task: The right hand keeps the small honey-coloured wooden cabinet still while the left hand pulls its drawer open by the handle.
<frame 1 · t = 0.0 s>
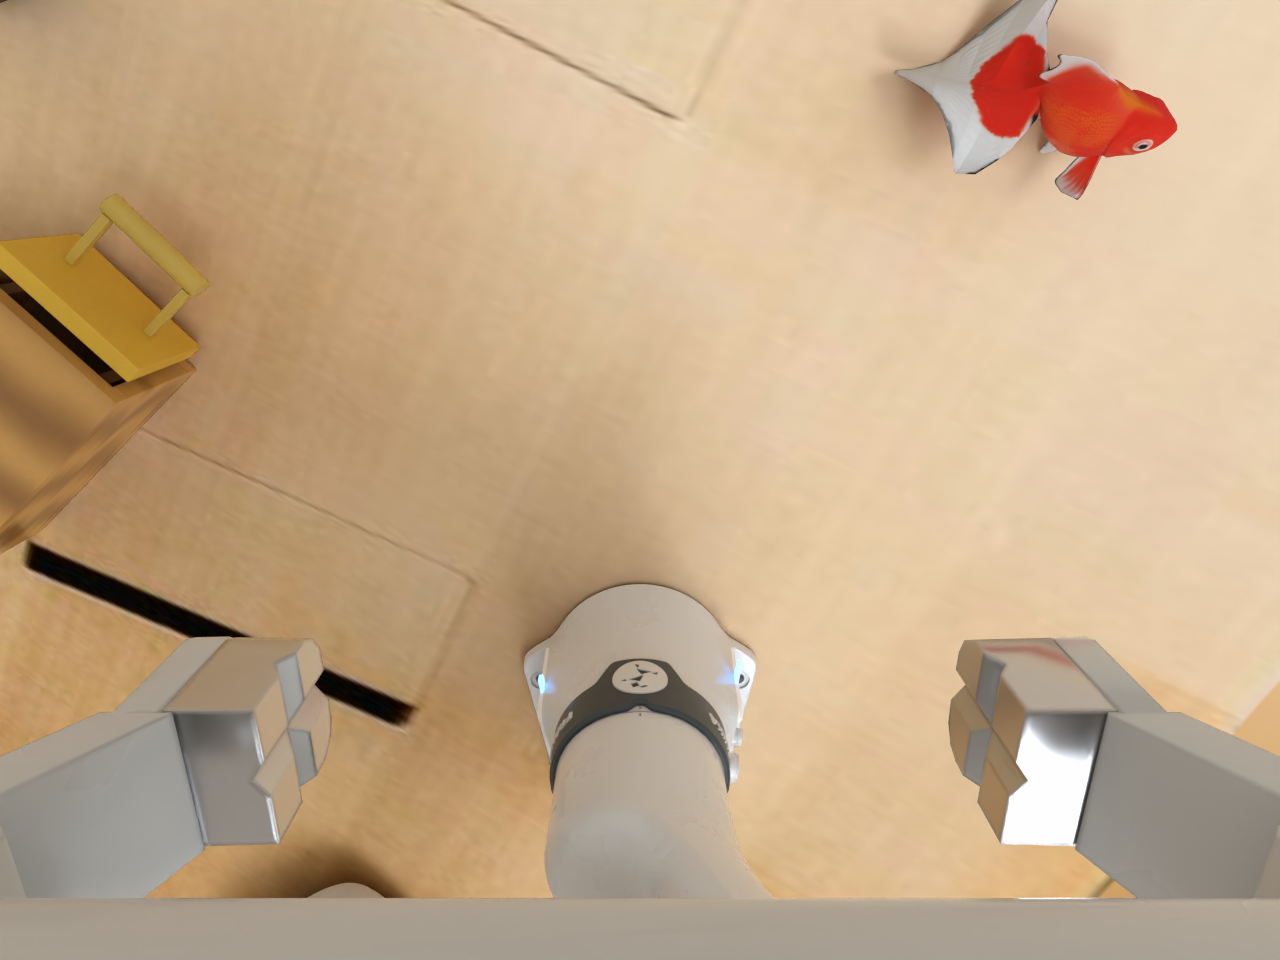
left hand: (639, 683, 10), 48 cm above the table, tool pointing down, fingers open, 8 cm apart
drawer: (52, 360, 53), point 5 cm above the table, slide at 0.9 cm
white rounded slotted device: (379, 956, 77), on the table
fish: (999, 109, 52), on the table
cabinet: (52, 396, 58), on the table
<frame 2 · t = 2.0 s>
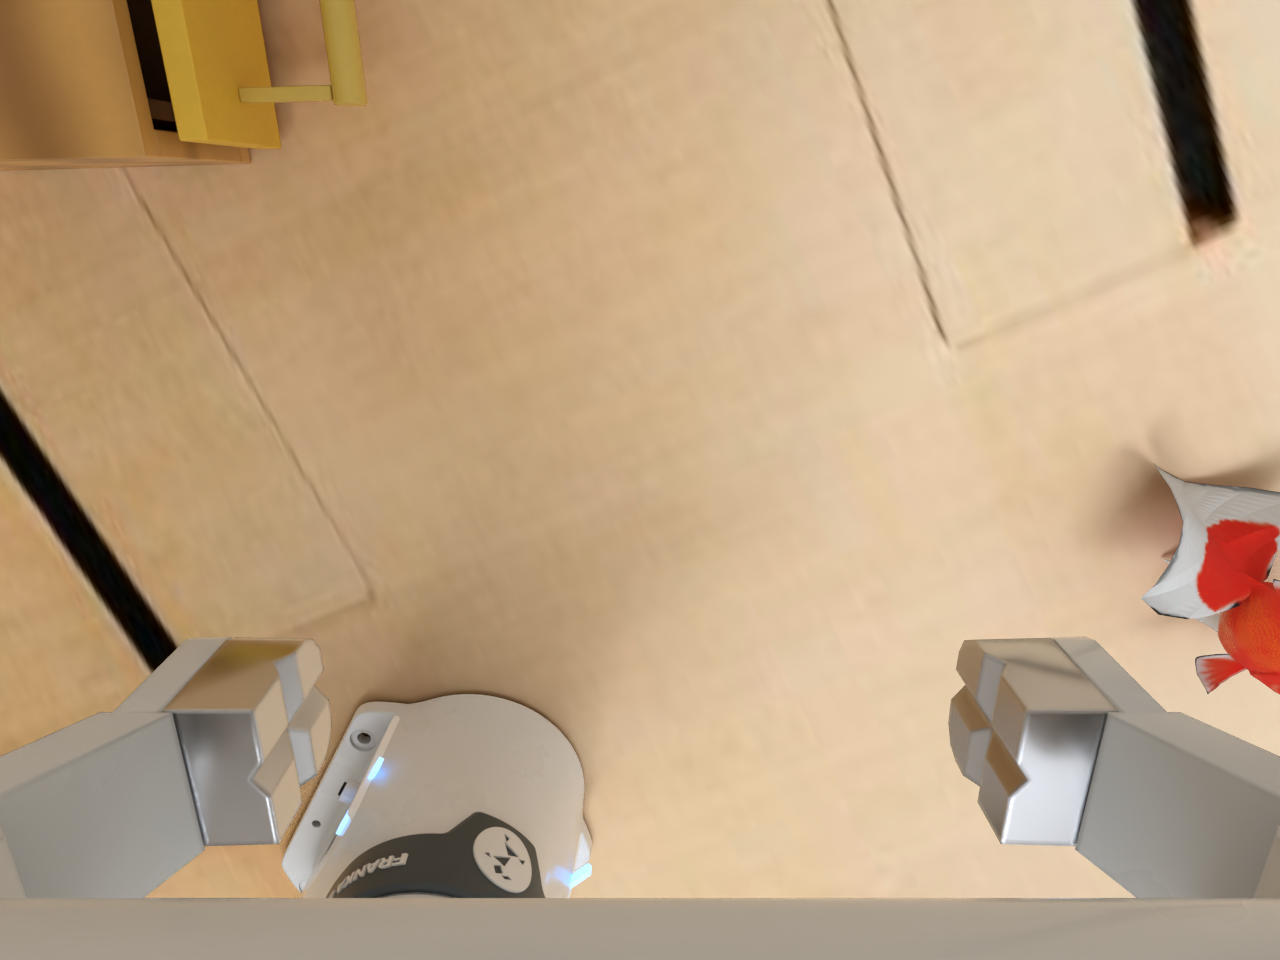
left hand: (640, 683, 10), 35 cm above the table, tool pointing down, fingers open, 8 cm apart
drawer: (87, 22, 35), point 5 cm above the table, slide at 0.9 cm
fish: (1187, 553, 49), on the table
cabinet: (36, 44, 39), on the table
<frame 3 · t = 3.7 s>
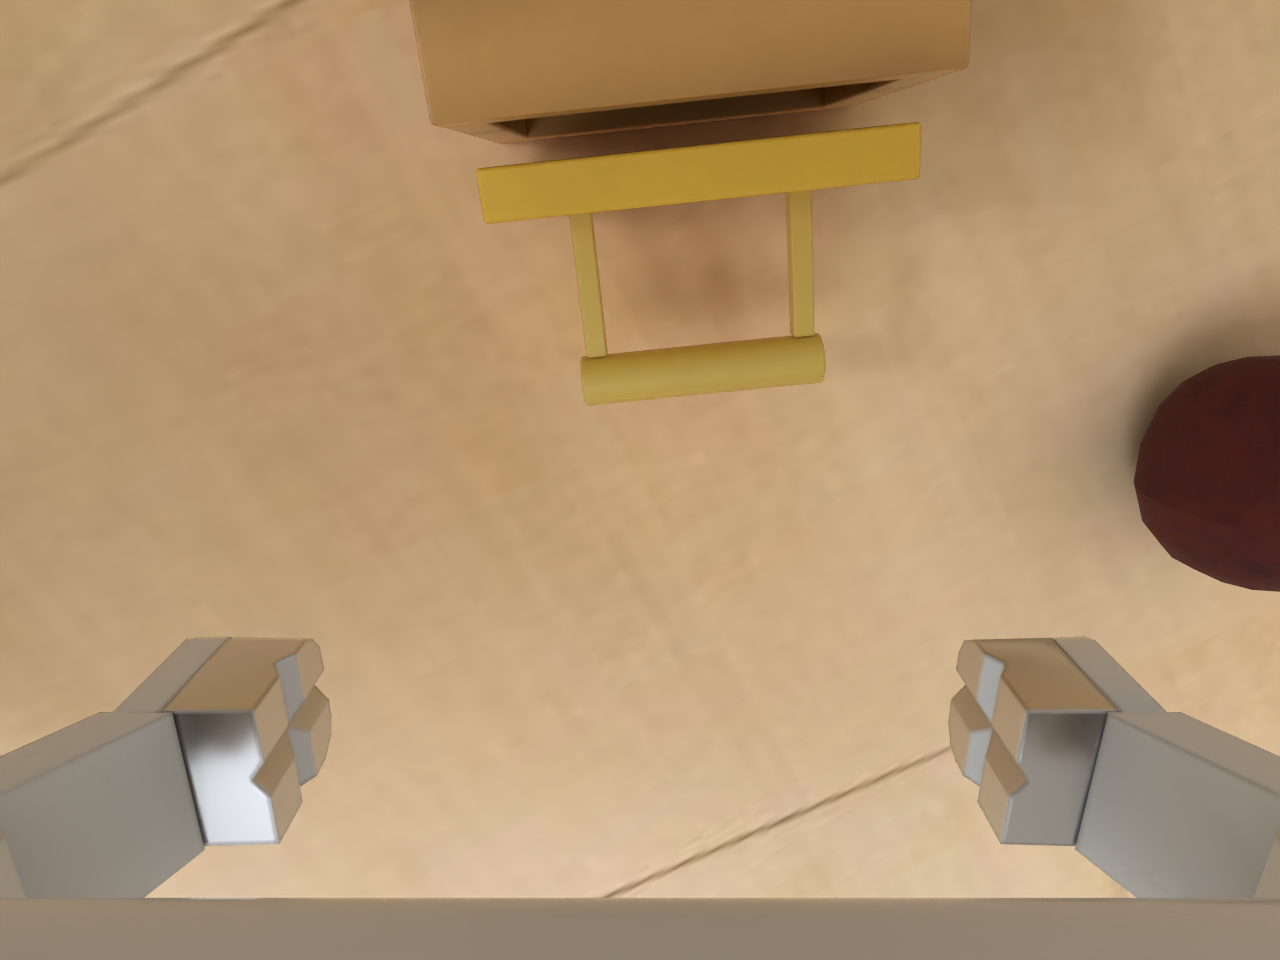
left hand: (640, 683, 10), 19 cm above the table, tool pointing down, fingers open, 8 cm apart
dark red ball: (1192, 437, 30), on the table
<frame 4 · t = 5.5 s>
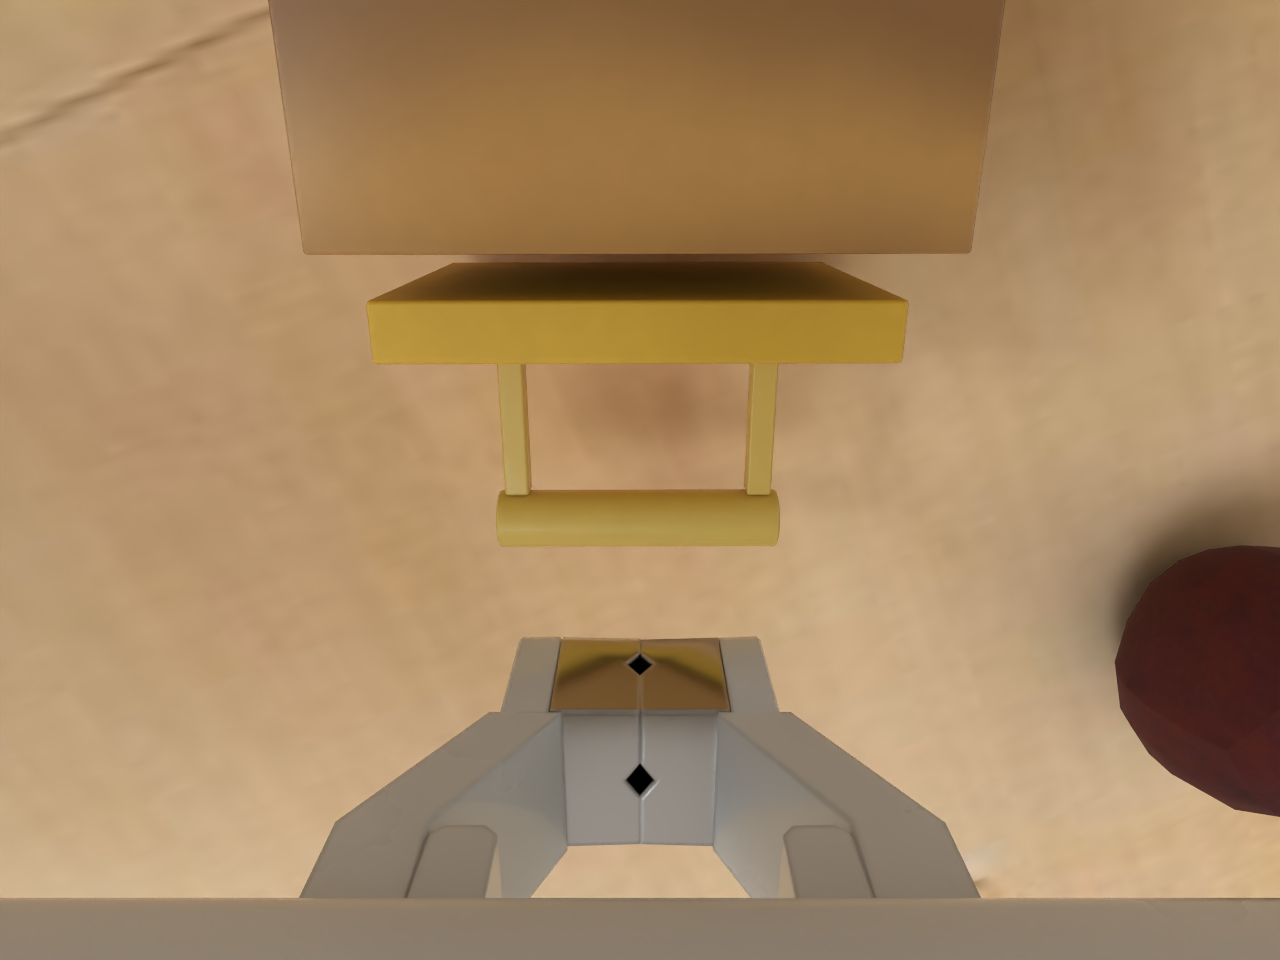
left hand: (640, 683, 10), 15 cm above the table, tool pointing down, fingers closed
drawer: (637, 40, 17), point 5 cm above the table, slide at 0.9 cm
dark red ball: (1183, 612, 27), on the table
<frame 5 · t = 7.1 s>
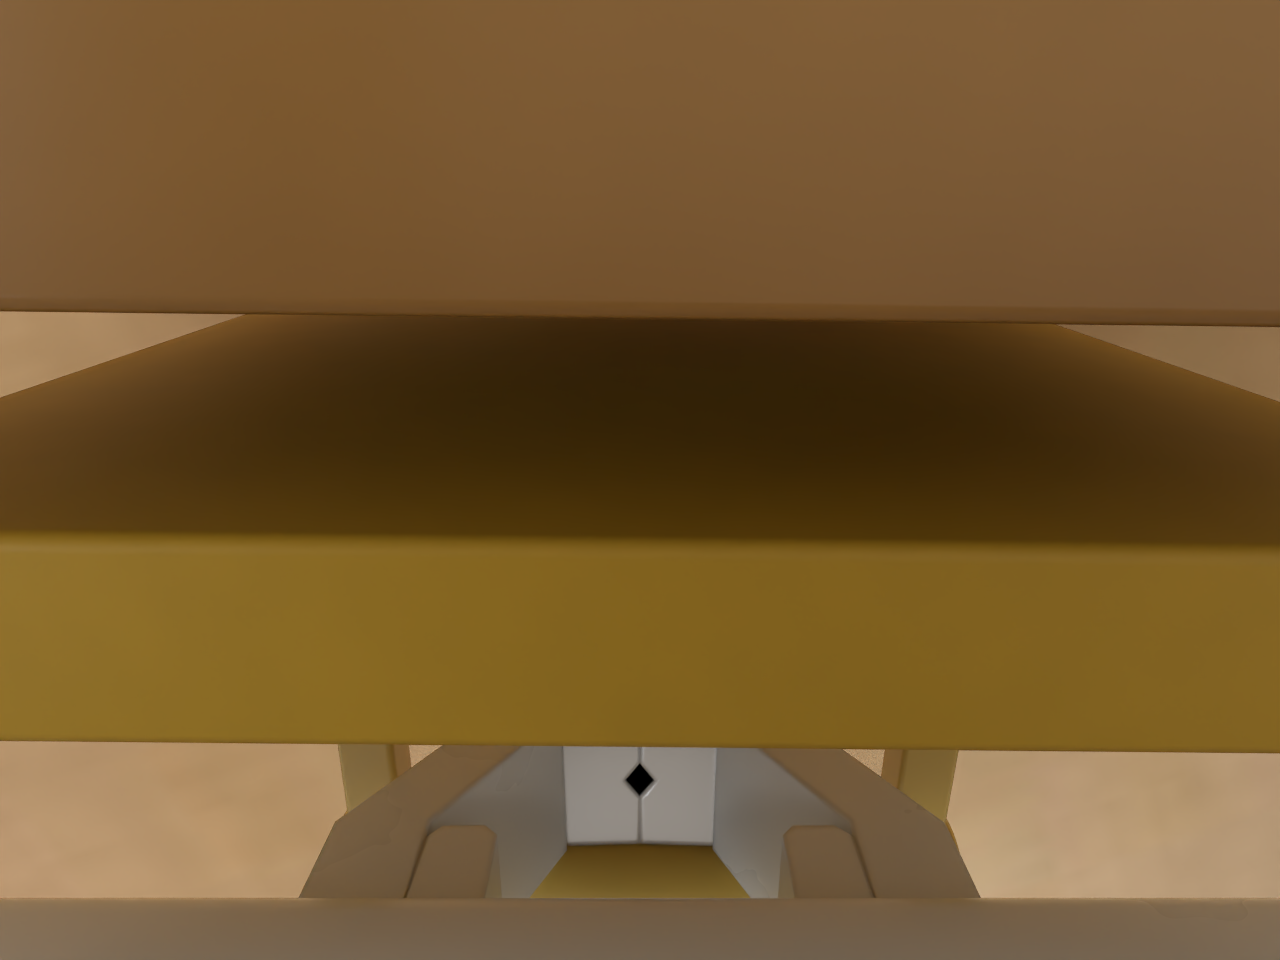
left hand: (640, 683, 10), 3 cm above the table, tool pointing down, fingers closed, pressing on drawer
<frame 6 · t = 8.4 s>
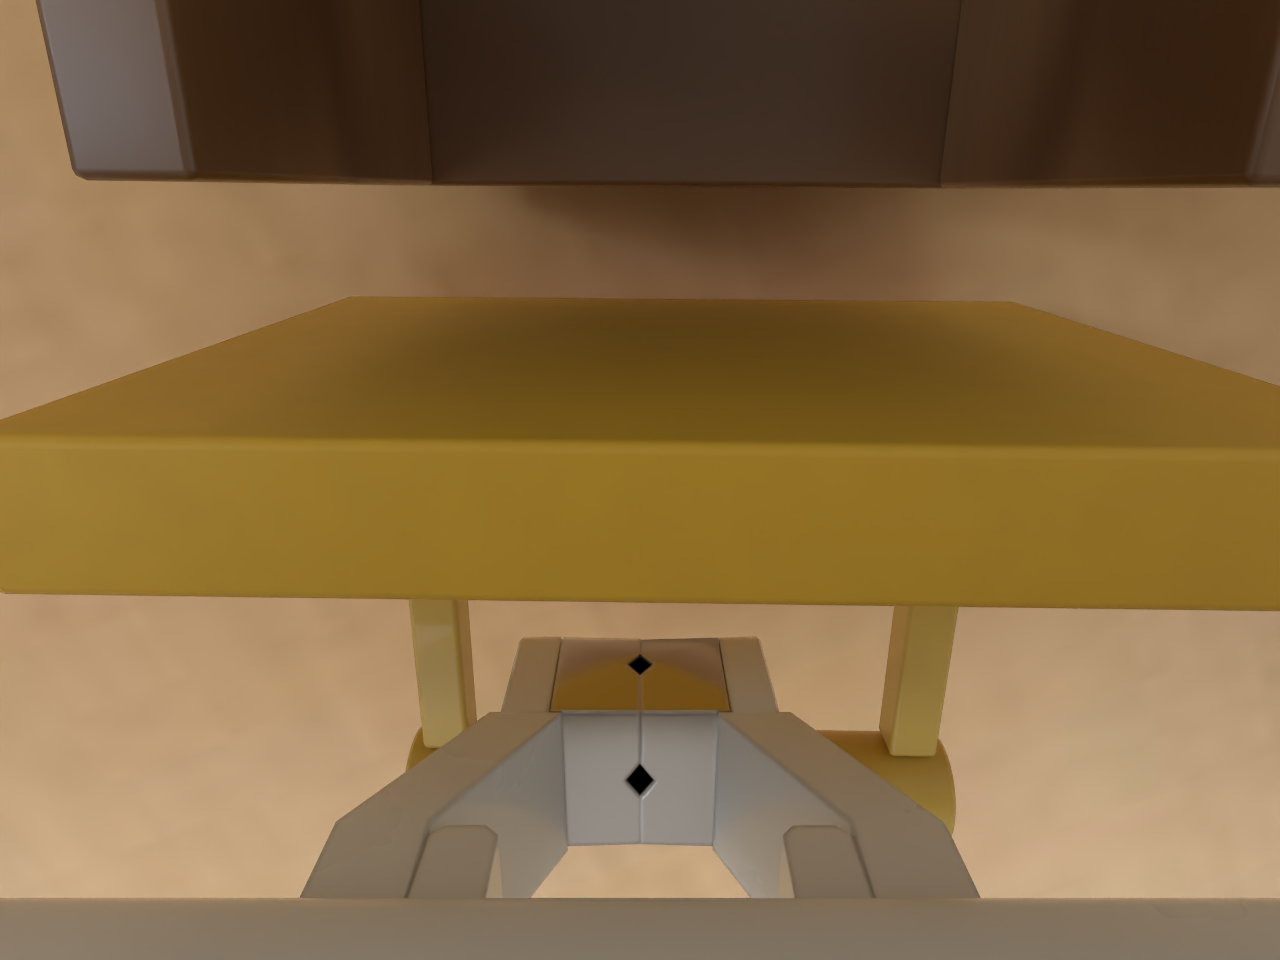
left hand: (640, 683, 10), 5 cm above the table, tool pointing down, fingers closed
when the right hand's fingers open (5 cm above the table, at t = 10.0 s): cabinet stays where it is, on the table.
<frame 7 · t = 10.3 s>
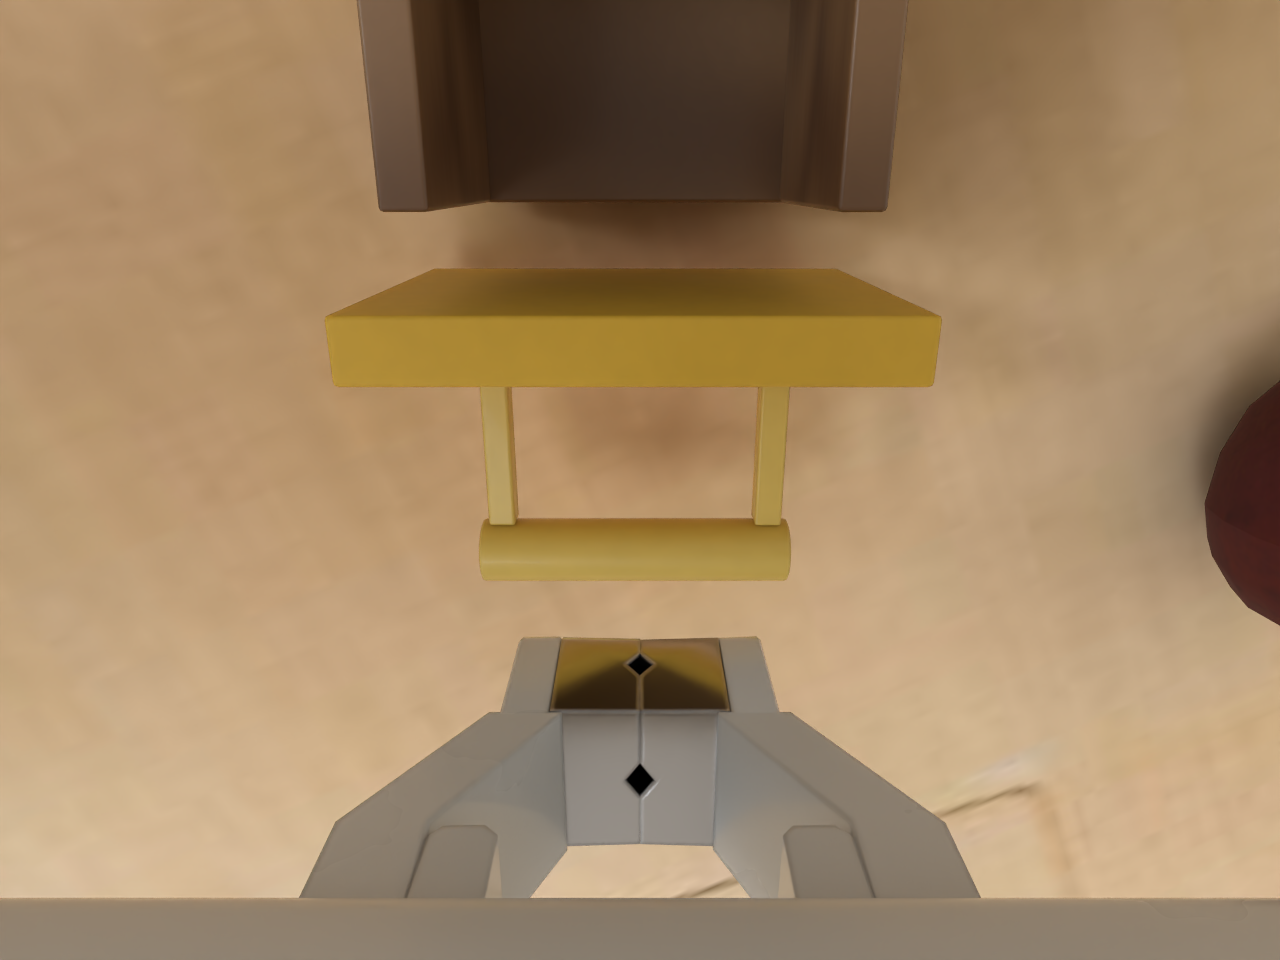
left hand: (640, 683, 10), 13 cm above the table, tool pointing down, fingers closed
drawer: (634, 21, 15), point 5 cm above the table, slide at 7.0 cm
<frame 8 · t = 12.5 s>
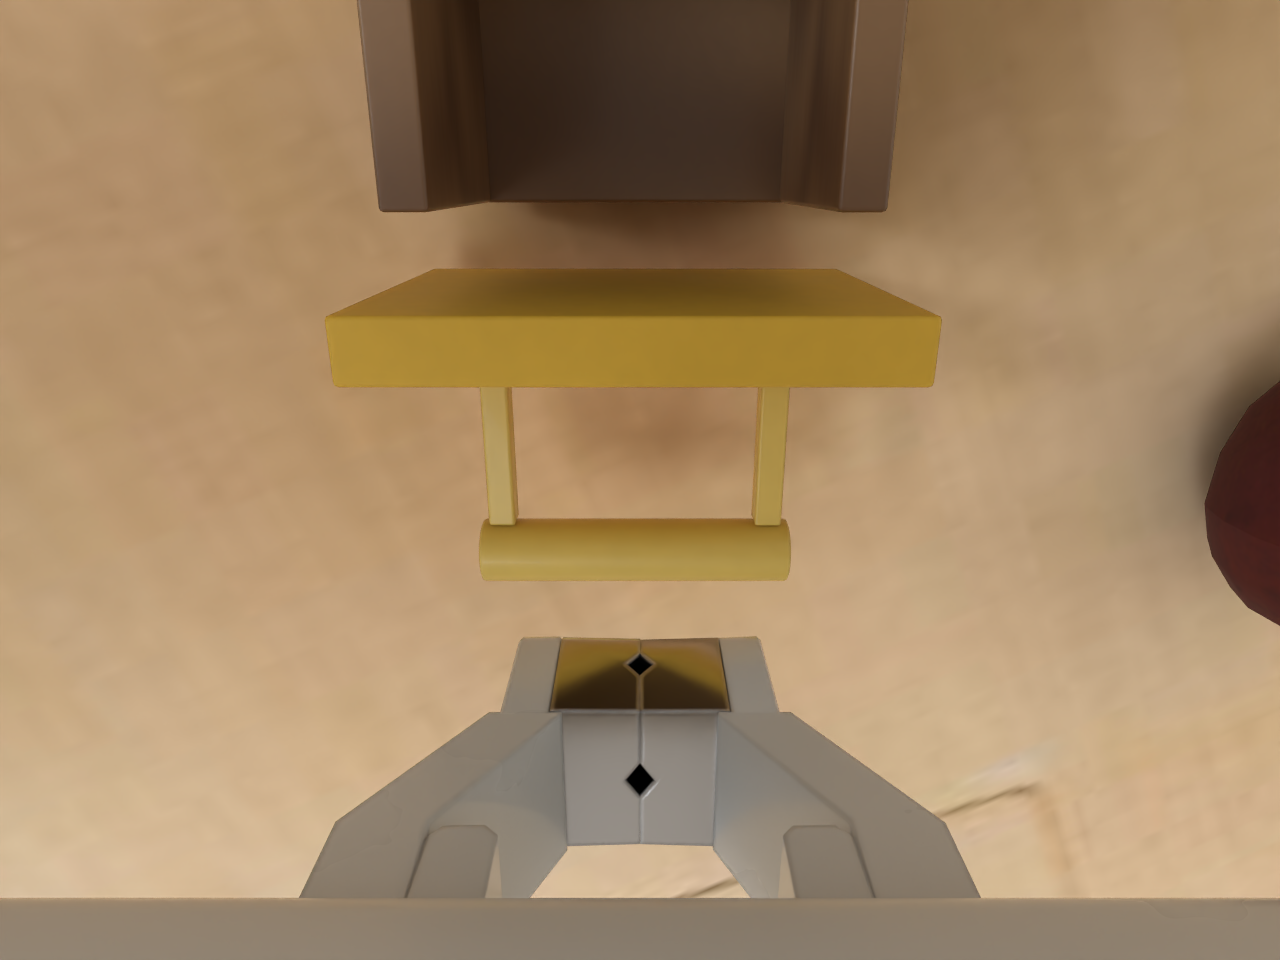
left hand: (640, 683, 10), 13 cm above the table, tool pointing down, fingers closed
drawer: (634, 21, 15), point 5 cm above the table, slide at 7.0 cm
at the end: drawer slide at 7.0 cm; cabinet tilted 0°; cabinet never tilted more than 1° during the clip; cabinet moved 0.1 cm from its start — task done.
